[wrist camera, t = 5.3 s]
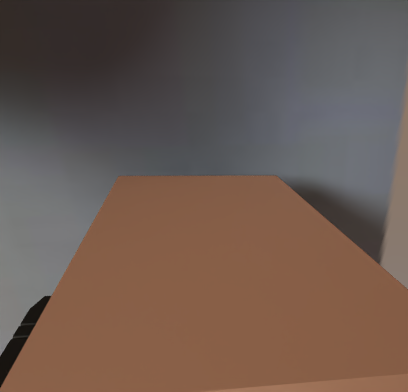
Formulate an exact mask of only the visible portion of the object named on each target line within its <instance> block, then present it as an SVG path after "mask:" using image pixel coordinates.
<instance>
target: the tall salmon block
mask: <svg viewBox="0 0 408 392" xmlns="http://www.w3.org/2000/svg"><path fill="white" fill-rule="evenodd" d="M0 392H408V289H407V288H406V287H404V286H403V285H402V284H401V283H400V282H399V281H398V280H396V279H395V278H394V277H393V276H392V275H391V274H389V273H388V272H387V271H386V270H385V269H384V268H382V267H381V266H380V265H379V264H378V263H377V262H376V261H374V260H373V259H372V258H371V257H370V256H369V255H367V254H366V253H365V252H364V251H363V250H362V249H361V248H359V247H358V246H357V245H356V244H355V243H354V242H352V241H351V240H350V239H349V238H348V237H347V236H346V235H344V234H343V233H342V232H341V231H340V230H339V229H337V228H336V227H335V226H334V225H333V224H332V223H331V222H329V221H328V220H327V219H326V218H325V217H324V216H322V215H321V214H320V213H319V212H318V211H317V210H315V209H314V208H313V207H312V206H311V205H310V204H309V203H307V202H306V201H305V200H304V199H303V198H302V197H300V196H299V195H298V194H297V193H296V192H295V191H294V190H292V189H291V188H290V187H289V186H288V185H287V184H285V183H284V182H283V181H282V180H281V179H280V178H279V177H277V176H118V178H117V180H116V182H115V183H114V185H113V187H112V189H111V191H110V192H109V194H108V196H107V198H106V200H105V201H104V203H103V205H102V207H101V209H100V210H99V212H98V214H97V216H96V217H95V219H94V221H93V223H92V225H91V226H90V228H89V230H88V232H87V234H86V235H85V237H84V239H83V241H82V243H81V244H80V246H79V248H78V250H77V252H76V253H75V255H74V257H73V259H72V260H71V262H70V264H69V266H68V268H67V269H66V271H65V273H64V275H63V277H62V278H61V280H60V282H59V284H58V286H57V287H56V289H55V291H54V293H53V294H52V296H51V298H50V300H49V302H48V303H47V305H46V307H45V309H44V311H43V312H42V314H41V316H40V318H39V320H38V321H37V323H36V325H35V327H34V328H33V330H32V332H31V334H30V336H29V337H28V339H27V341H26V343H25V345H24V346H23V348H22V350H21V352H20V354H19V355H18V357H17V359H16V361H15V363H14V364H13V366H12V368H11V370H10V371H9V373H8V375H7V377H6V379H5V380H4V382H3V384H2V386H1V388H0Z"/></svg>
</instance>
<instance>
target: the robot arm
mask: <svg viewBox="0 0 408 392" xmlns="http://www.w3.org/2000/svg"><path fill="white" fill-rule="evenodd" d="M50 298H51V296H44V297H43V298H42V299H41V300H40V301H39V302H37V303H36V304H35V305H34V306H33V307H31V308H30V310H29V311H28V313H27V314H26V316H25V318H24V319H23V321H22V322H21V326H19V327H18V329H17V330H16V332H15V334H14V335H13V339H11V340H10V342H9V343H8V345H7V346H6V348H5V350H4V351H3V353H2V355H1V356H0V388H1V386H2V384H3V382H4V380H5V379H6V377H7V375H8V373H9V371H10V370H11V368H12V366H13V364H14V363H15V361H16V359H17V357H18V355H19V354H20V352H21V350H22V348H23V346H24V345H25V343H26V341H27V339H28V337H29V336H30V334H31V332H32V330H33V328H34V327H35V325H36V323H37V321H38V320H39V318H40V316H41V314H42V312H43V311H44V309H45V307H46V305H47V303H48V302H49V300H50Z"/></svg>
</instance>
